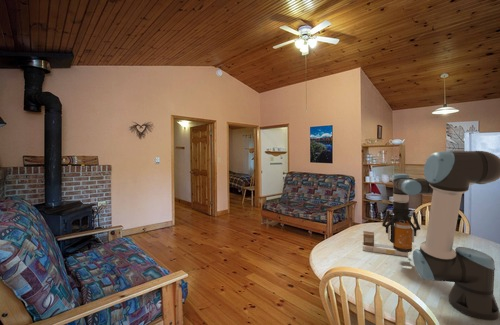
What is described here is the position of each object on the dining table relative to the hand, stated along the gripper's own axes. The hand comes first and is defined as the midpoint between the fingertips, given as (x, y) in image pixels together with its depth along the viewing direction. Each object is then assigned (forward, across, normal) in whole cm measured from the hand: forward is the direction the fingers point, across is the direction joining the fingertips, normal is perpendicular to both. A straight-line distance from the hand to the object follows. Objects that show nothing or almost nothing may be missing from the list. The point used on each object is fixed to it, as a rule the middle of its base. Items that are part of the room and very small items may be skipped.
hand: (400, 240), depth 138 cm
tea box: (+11, +16, -15) cm, 24 cm away
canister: (+6, 0, 0) cm, 6 cm away
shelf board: (+12, +7, -15) cm, 21 cm away
